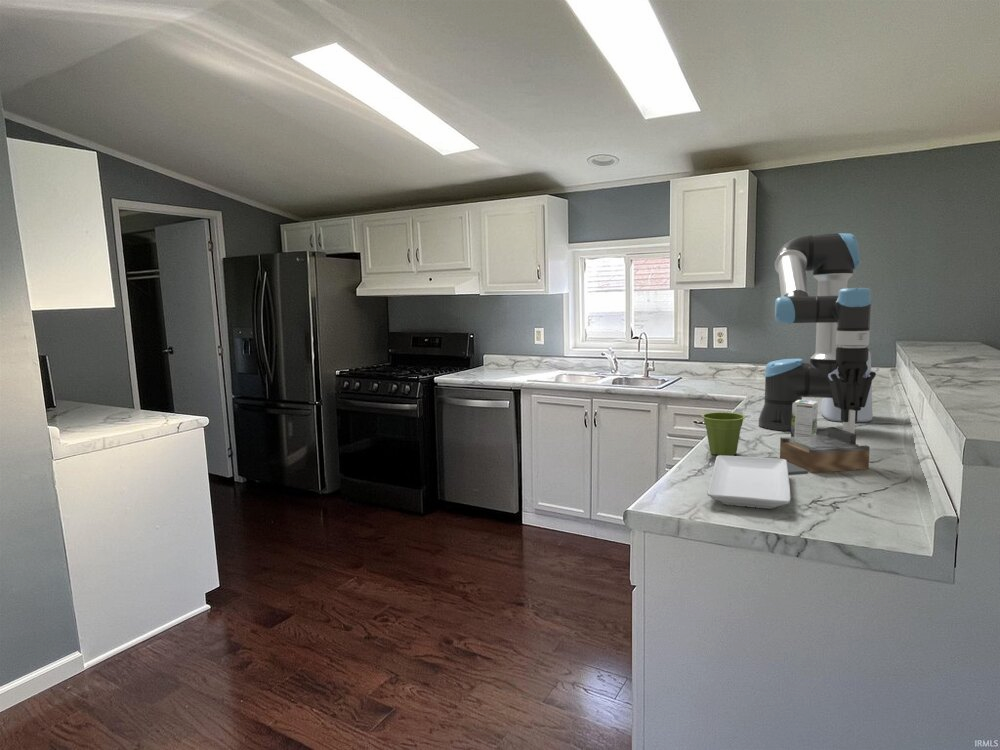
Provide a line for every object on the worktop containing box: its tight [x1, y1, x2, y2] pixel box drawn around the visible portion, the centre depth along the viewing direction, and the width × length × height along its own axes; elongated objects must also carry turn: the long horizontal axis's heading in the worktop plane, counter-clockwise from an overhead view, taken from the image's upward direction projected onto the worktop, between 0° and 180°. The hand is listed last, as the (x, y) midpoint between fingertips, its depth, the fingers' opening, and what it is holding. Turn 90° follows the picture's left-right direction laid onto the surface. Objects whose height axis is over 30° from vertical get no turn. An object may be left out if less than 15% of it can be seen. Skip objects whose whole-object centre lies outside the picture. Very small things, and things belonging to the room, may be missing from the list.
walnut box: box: [779, 434, 870, 474], centre depth 161 cm, size 16×14×6 cm
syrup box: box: [790, 399, 819, 437], centre depth 176 cm, size 6×6×14 cm
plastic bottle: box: [820, 351, 874, 423], centre depth 216 cm, size 15×15×28 cm
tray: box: [706, 455, 792, 510], centre depth 142 cm, size 17×32×4 cm, turn 156°
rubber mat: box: [764, 456, 808, 475], centre depth 160 cm, size 16×14×1 cm
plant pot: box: [701, 411, 746, 456], centre depth 174 cm, size 12×12×11 cm
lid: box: [787, 426, 859, 451], centre depth 161 cm, size 13×11×4 cm
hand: (848, 433), depth 162 cm, fingers closed
